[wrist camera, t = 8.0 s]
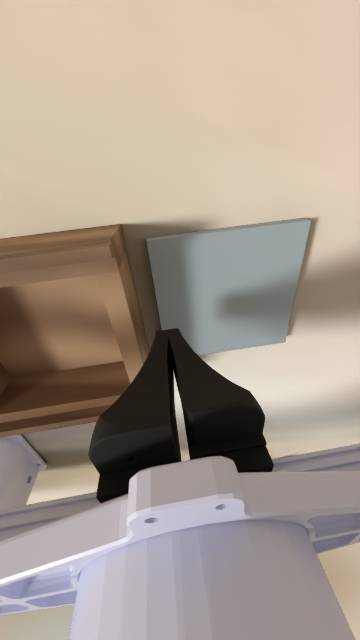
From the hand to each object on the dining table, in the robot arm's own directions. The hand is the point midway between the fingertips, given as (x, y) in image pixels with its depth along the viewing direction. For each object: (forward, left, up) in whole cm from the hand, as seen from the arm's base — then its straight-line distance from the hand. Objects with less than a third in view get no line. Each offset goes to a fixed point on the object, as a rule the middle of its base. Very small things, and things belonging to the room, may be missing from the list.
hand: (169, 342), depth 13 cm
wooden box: (0, +8, -5) cm, 10 cm away
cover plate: (0, -5, -6) cm, 8 cm away
